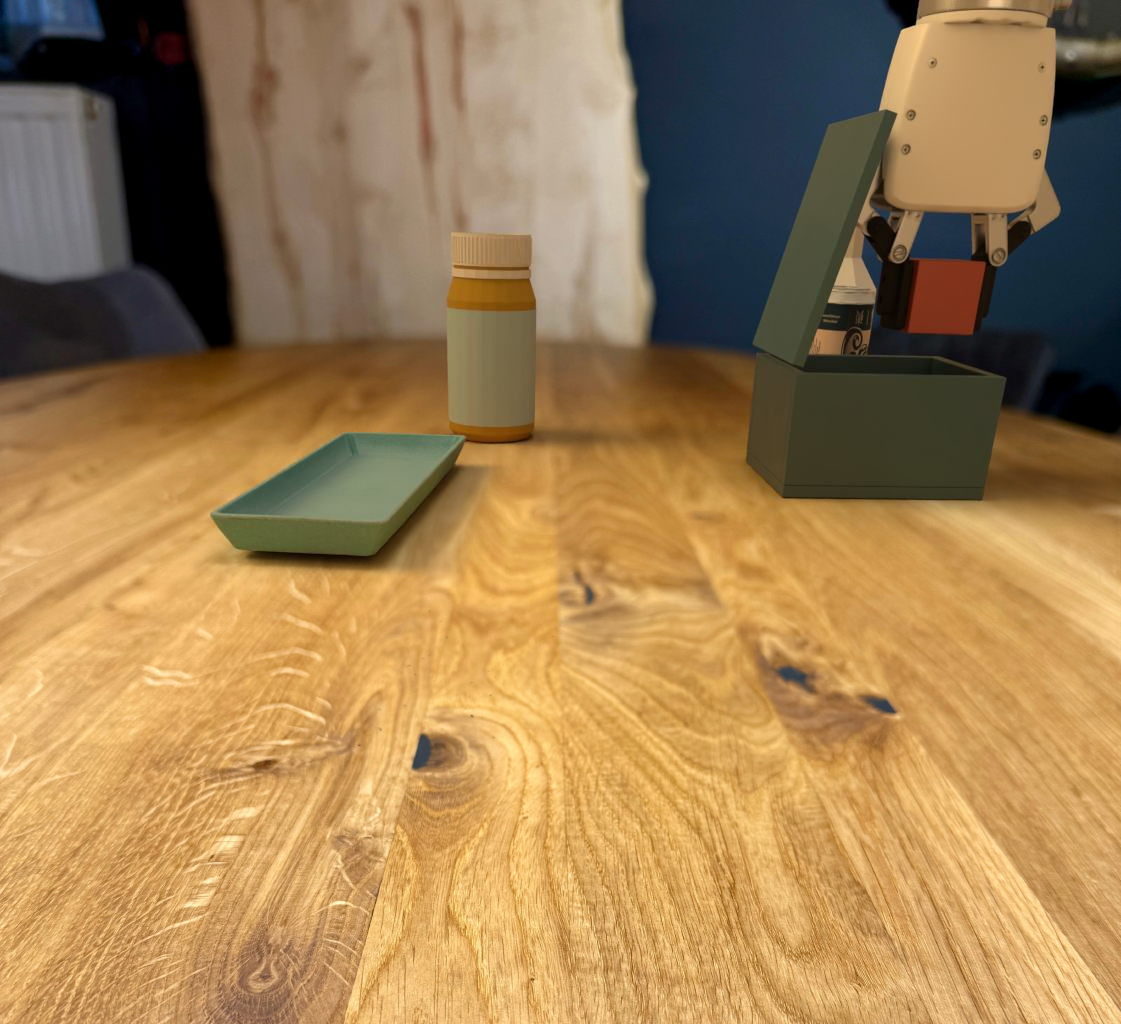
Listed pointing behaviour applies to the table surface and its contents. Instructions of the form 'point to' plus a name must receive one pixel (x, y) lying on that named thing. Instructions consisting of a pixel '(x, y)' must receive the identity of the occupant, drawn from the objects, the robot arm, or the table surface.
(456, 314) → the bottle
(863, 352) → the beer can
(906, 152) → the robot arm
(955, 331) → the block
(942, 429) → the chest
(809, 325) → the lid
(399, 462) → the teal serving tray
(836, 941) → the table surface
